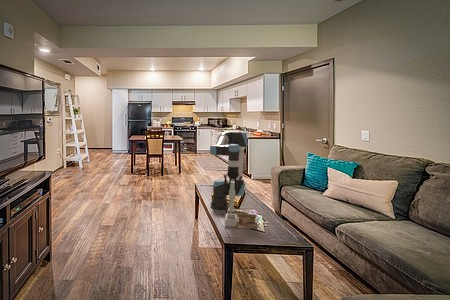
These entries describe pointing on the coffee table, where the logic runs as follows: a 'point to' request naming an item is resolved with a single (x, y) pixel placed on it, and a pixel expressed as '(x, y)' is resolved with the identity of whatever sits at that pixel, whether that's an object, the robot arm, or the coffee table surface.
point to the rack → (241, 216)
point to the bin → (231, 220)
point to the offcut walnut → (246, 222)
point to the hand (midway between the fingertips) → (231, 198)
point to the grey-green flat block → (232, 196)
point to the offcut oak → (246, 220)
